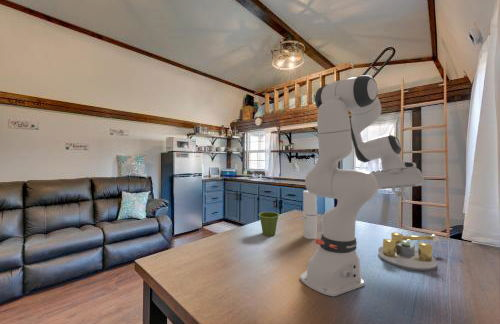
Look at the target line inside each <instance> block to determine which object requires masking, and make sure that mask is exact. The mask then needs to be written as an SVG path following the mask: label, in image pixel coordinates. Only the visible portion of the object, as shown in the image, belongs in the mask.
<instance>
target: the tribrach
mask: <svg viewBox="0 0 500 324" xmlns="http://www.w3.org/2000/svg"><path fill="white" fill-rule="evenodd" d="M417 243H418V244H417V246H418V247H417V248H418V249H417V248H416V246H415V245H414V244H411V242H410V240H402V241H401V242H400V243H398V244H397V245H396V248H395V241H394V240H391V238H383V239H382V246H380V247H379V248H378V250H377V253H378V254H377V255H378V257H379V258H380V259H381V260H382V261H384V262H386V263H388V264H390V265H392V266H395V267H398V268H401V269H406V270H411V271H418V272H425V271H427V272H429V271H433V270H435V269H436V268H437V260H436V258H435V257H434V256H433V244H430V243H428V242H423V241H422V242H421V241H420V242H417Z"/></svg>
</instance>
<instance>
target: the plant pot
mask: <svg viewBox="0 0 500 324" xmlns="http://www.w3.org/2000/svg"><path fill="white" fill-rule="evenodd" d="M258 217H259V220H260V225H261V231H262V234H263V236H267V237H272V236H274V235H276V233H277V225H278V220H279V217H280V213H278V212H273V211H262V212H260V213H258Z"/></svg>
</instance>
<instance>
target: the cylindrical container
mask: <svg viewBox="0 0 500 324" xmlns="http://www.w3.org/2000/svg"><path fill="white" fill-rule="evenodd" d="M302 193H303V194H302V199H303V200H302V201H303V203H302V211H303V215H302V216H303V219H302V222H303V225H302V227H303V230H302V235H303V238H304V239H308V240H314V239H315V240H316V239H317V238H318V230H317V229H318V225H317V224H318V221H317V220H318V214H317V213H318V206H317V205H318V198H317V197H318V196H317V195H314V194H311V193H309V192H308V190H307V189H306V190H303V191H302Z"/></svg>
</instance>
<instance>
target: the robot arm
mask: <svg viewBox="0 0 500 324" xmlns="http://www.w3.org/2000/svg"><path fill="white" fill-rule="evenodd" d="M315 92H316V93H315V95H314V104H315V106H316V108H317V123H316V126H317V138H318V156H317V160H316V163H315V165H314V166H313V168H312V169H311V170H310V171H308V173H307V174H306V177H305V179H304V183H305V184H304V185H305V187H306V190H308V192H309V193H311V194H314V195H317V197H322V198H328V199H335V200H337V204H336V206H334V207H331V208H329V209H327V210H326V211H325V212H324V213H323V215H322V234H321V235H320V238H318V237H317V238H316V239H315V241H314V242H315V244H316V245H319V247H318V248H317V250H316V251H315V252H314V253H313V255H312V256H311V257H310V259H309V260H308V262H307V268H306V270H305V271H304V272H303V273H301V274H300V276H299V279H300V281H301V282H302V283H303V284H305V286H307V287H309V288H310V289H312V290H314V291H315V292H318V293H320V294H323V295H326V296H330V297H336V296H339V295H342V294H344V293H347V292H350V291H353V290H356V289H358V288H361V287H365V280H364V279H363V278H362V271H361V260H360V257H359V256H358V254H357V251H356V250H357V244H358V243H357V237H356V222H357V221H356V220H357V216H358V214H359V211H360V209H361V208H362V207H363V206H364V205H365V204H367V203H368V202H370V201H371V200H373V199H374V197H376V195H377V193H378V190H387V189H391V192H393V193H394V194H395V196H396V198H402V197H403V198H404V197H405V193H404V192H405V190H406V188H408V187H410V188H411V187H421V186H423V185H424V183H425V177H424V176H423V173H422V171H421V170H420V169H419V168H417V163H416V162H411V161H405V160H404V161H403V159H402V157H401V152H402V147H401V144H400V140H399V139H398V137H396V136H394V135H393V134H384V135H381V136H378V137H375V138H371V139H368V140H363V138H362V134H361V133H362V132H363V131H364V130H365V129H367V128H369V126H371V125H373V124H374V123H376V121H377V120H378V119H379V118H380V116H381V113H382V105H381V104H382V103H381V101H380V99H379V97H378V84H377V81H376V79H374V78H373V77H372V76H370V75H358V76H357V77H350V78H345V79H339V80H337V81H336V80H335V81H334V82H330V83H329V84H323V85H322V86H321V87H319V88H318V89H317V90H316V91H315ZM349 112H350V113H349ZM349 114H351V117H350V115H349ZM353 148H354V154H355V157H356V159H357V160H358V161H360V162H362V163H367V162H368V163H369V162H372V161H374V160H378V159H380V161H381V164H380V165H381V169H380V170H379V169H378V170H373V171H371V172H370V171H366V170H360V169H354V168H353V169H352V168H351V169H350V168H349V169H345V168H344V169H343V168H339V162H340V161H342V160H344V159H346V158H347V157H348V156H350V155H351V153H352V152H353ZM398 188H400V190H401V191H400V192H399V191H397V190H396V189H398Z"/></svg>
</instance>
